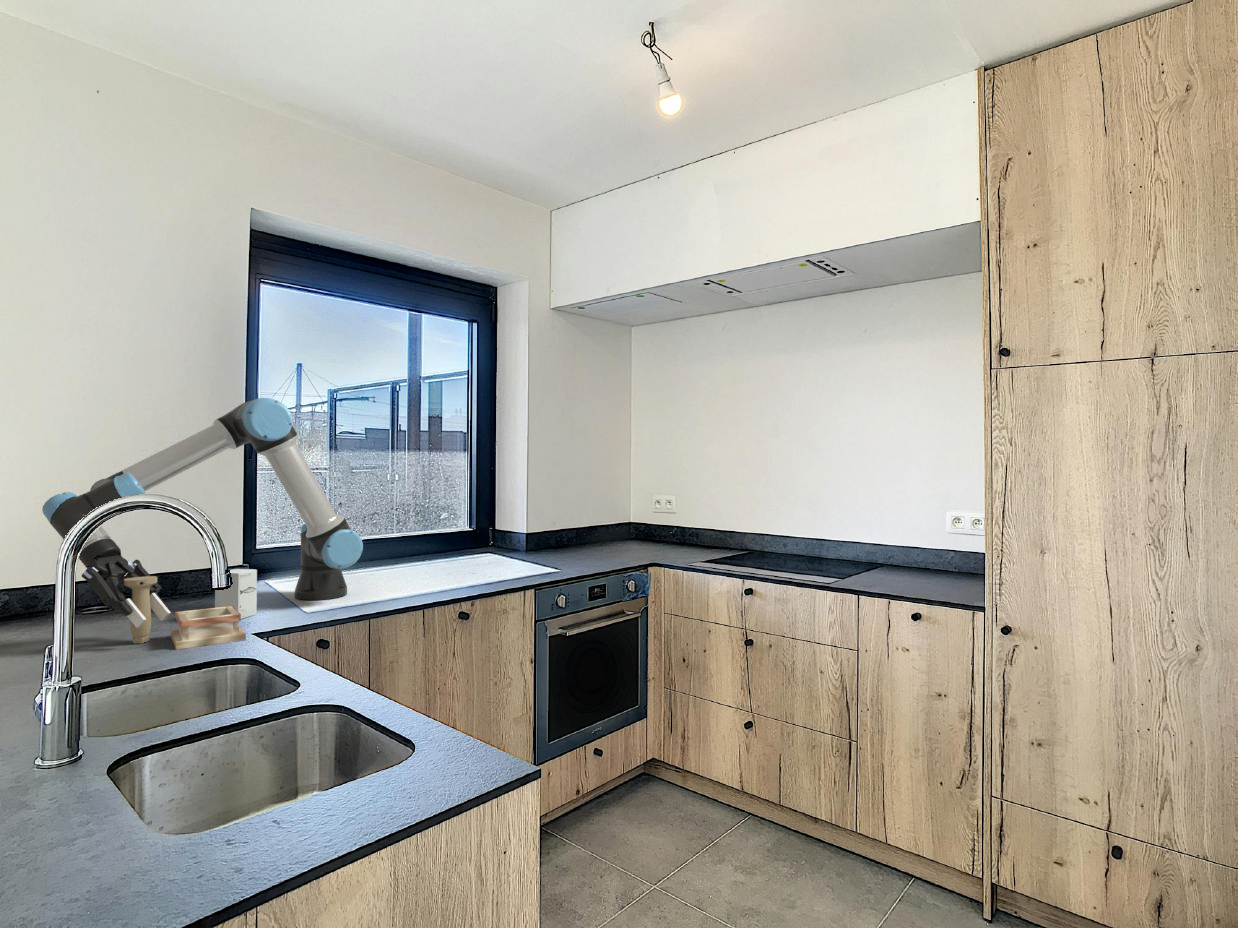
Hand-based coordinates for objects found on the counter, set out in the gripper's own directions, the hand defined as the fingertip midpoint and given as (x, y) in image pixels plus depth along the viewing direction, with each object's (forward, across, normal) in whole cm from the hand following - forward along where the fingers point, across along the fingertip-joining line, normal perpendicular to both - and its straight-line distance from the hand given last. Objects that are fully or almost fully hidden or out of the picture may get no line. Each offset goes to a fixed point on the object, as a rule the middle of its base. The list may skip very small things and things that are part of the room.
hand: (154, 619), depth 161 cm
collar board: (+10, -6, +2) cm, 12 cm away
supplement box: (+3, -27, -4) cm, 28 cm away
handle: (+1, 0, -6) cm, 7 cm away
